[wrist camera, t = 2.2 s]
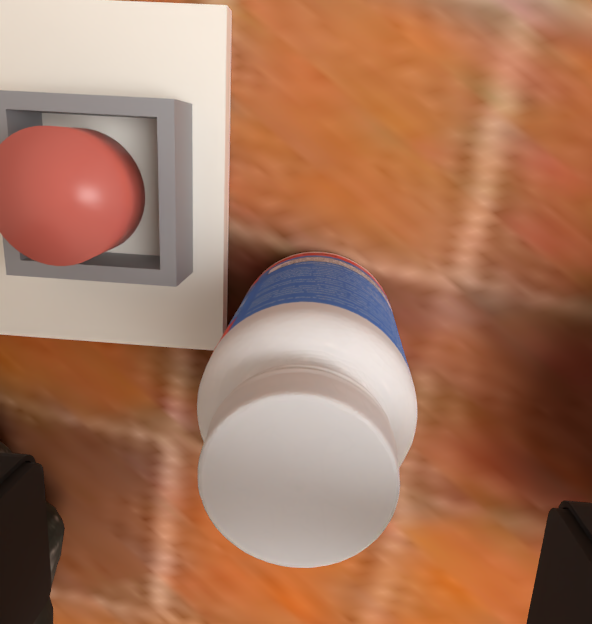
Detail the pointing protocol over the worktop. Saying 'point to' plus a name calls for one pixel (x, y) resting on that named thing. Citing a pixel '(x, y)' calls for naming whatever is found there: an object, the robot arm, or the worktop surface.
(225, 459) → the pill bottle
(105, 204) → the button
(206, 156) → the white flat board
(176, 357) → the worktop surface
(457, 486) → the worktop surface
